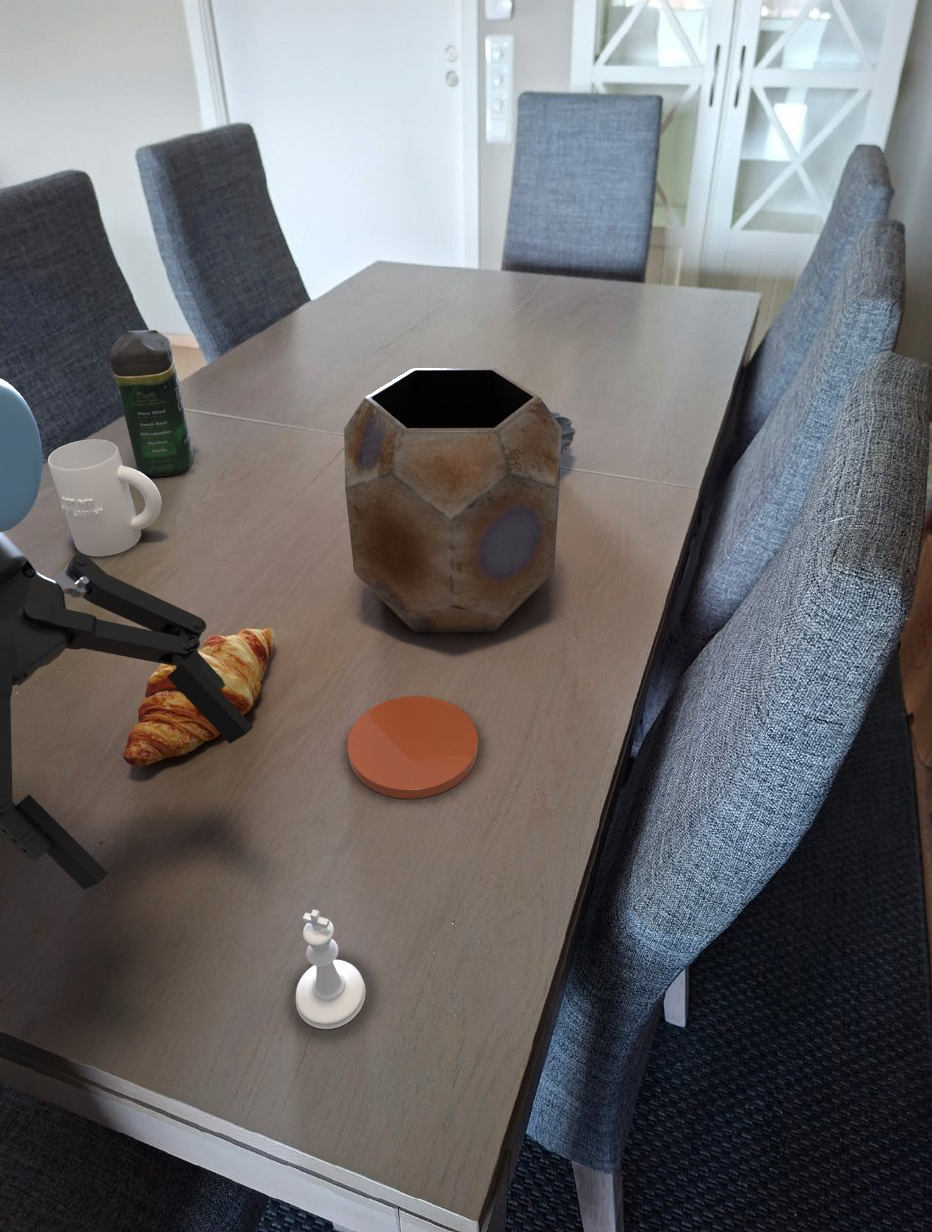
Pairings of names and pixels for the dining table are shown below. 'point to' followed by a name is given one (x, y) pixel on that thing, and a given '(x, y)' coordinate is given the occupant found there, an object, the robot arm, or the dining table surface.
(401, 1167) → the dining table surface
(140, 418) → the coffee jar
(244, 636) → the croissant
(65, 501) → the mug
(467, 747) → the orange flat disc
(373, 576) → the planter
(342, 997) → the chess piece
